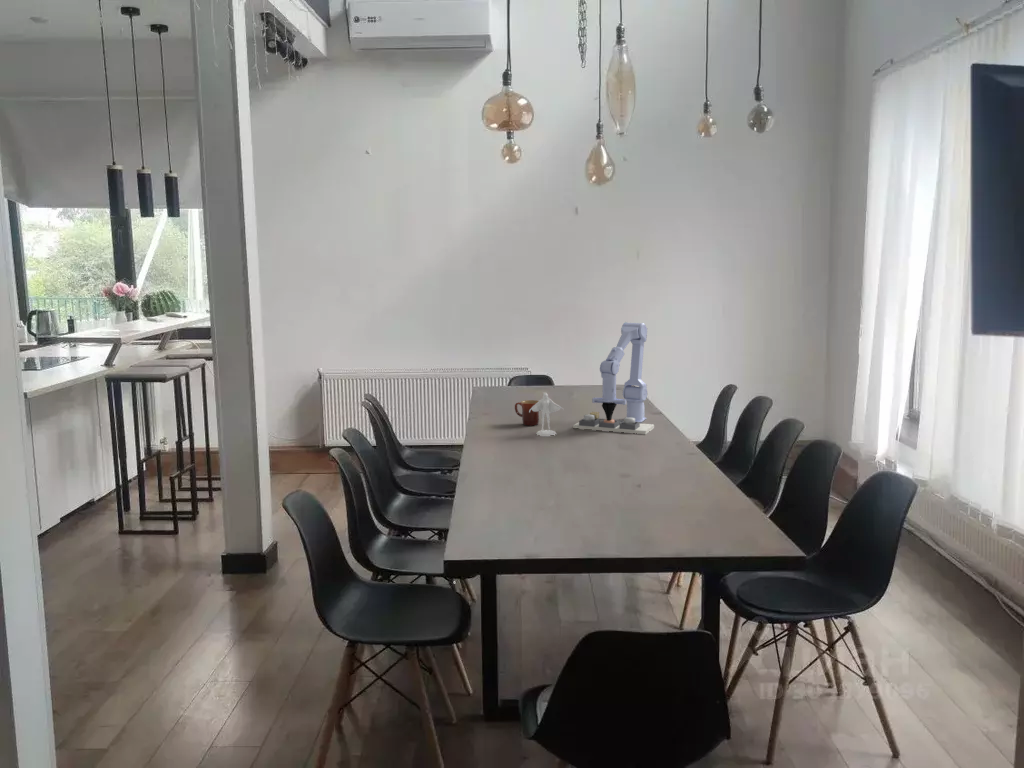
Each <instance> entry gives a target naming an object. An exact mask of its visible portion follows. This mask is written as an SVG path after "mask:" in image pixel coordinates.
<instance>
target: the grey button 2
mask: <svg viewBox="0 0 1024 768" xmlns="http://www.w3.org/2000/svg"><path fill="white" fill-rule="evenodd" d="M623 421H624V424H630V425H635V418H633V417H627V416H626V417H624V418H623Z"/></svg>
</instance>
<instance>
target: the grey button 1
mask: <svg viewBox="0 0 1024 768" xmlns="http://www.w3.org/2000/svg"><path fill="white" fill-rule="evenodd" d="M583 418H584V421H590V422H594V421H595V415H591V414H590V413H588V414H583Z"/></svg>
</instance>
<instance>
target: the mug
mask: <svg viewBox="0 0 1024 768" xmlns="http://www.w3.org/2000/svg"><path fill="white" fill-rule="evenodd" d="M538 401H539V400H533V399H525V400H521V401H519V402H516V403H515V404H514V410H515V413H516V415H517V416H518V417H521V418H522V419H521V422H522V425H524V426H525V425H526V427H535V426H534V425H536V426H537V425H538V424H539V422H540V413H539V412H540V411H537V412H534V411H532V409H531V408H532V407H533V406H534V405H535V404H536V403H537V402H538ZM518 405H520V406H521V409H522V411H521V413H520V412H519V410H518ZM530 409H531V411H530V413H529V410H530Z"/></svg>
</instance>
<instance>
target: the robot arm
mask: <svg viewBox="0 0 1024 768" xmlns="http://www.w3.org/2000/svg"><path fill="white" fill-rule="evenodd" d="M620 333H621V335H620V336H619V340H618V342H617V344H616V345H615V347H612V348H611V350H610V352H609V354H608V355H607V357H606V358H605V360H603V361H601V362H600V365H599V372H600V377H601V379H602V393H601V395H602V396H601V397H592V399H591V400H592V401H591V402H592V403H593V404H595V403H596V404H601V407H602V410H603V412H604V414H605V419H607V420H608V421H610V420H611V419H613V414H614V411H615V408H616V407H617V405H623V406H626V417H633V418H635V422H640V424H642V423H643V422H644V421H645V420H647V417H645V410H646V409H645V403H644V402H645V401H646V399H647V398H648V389H647V388H648V387H647V386H648V385H647V383H646V382H644V380H642V376H643V362H644V361H643V360H644V349H645V342H647V337H648V328H647V325H646V324H645V323H644V322H628V321H627V322H626V321H625V322H624V323H623V324H622V326H621V328H620ZM629 343H631V344H632V347H631V357H630V358H631V359H630V370H629V378H628V380H626V381H625V382H624V386H623V390H622V397H623V398H617V374H618V372H619V370H620V367H621V366H620V364H621V361H622V359H623V357H624V356H625V351H624V350H625V349H626V347H627V346H628V345H629Z"/></svg>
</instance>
